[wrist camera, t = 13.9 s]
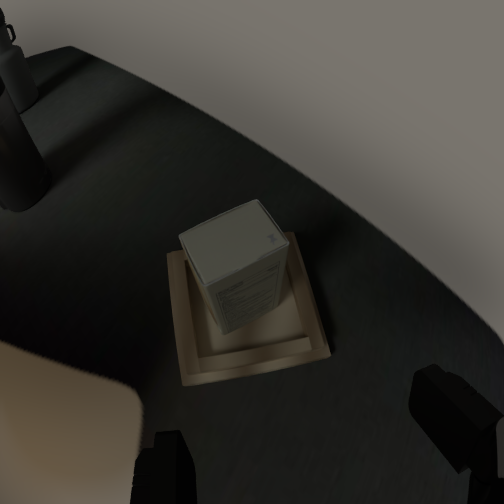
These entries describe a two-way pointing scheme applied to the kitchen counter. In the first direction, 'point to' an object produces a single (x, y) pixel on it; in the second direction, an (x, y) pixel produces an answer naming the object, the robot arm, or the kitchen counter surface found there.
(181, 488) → the robot arm
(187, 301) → the tray
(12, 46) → the water bottle
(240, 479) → the kitchen counter surface
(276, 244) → the skincare box
